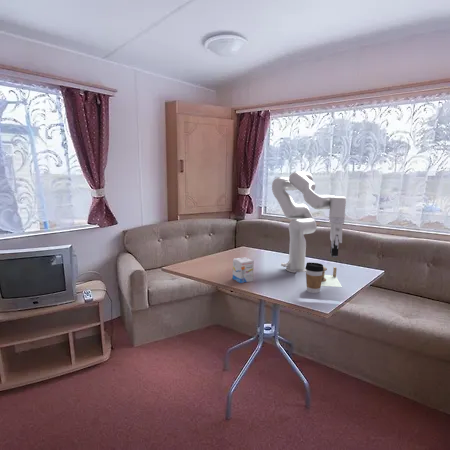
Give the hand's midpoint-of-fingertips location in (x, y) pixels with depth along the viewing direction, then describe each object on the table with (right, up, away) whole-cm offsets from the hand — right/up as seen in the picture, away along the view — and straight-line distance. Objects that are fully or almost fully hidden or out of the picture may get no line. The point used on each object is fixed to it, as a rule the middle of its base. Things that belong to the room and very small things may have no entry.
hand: (334, 254), depth 163 cm
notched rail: (-1, -13, +11) cm, 17 cm away
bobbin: (-6, -14, +4) cm, 16 cm away
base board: (-3, -16, +4) cm, 16 cm away
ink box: (-48, -15, +7) cm, 50 cm away
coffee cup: (-14, -18, -12) cm, 26 cm away
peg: (0, -1, 0) cm, 1 cm away
